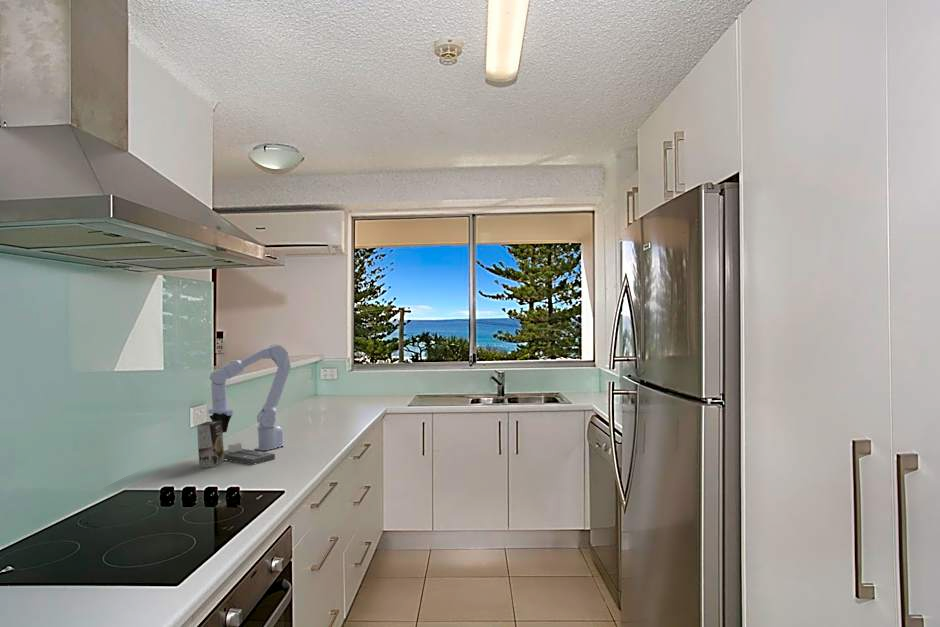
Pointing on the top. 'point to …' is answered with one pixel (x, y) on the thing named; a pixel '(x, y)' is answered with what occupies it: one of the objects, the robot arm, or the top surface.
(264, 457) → the fader panel
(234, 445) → the fader knob
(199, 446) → the coffee box
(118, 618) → the top surface
